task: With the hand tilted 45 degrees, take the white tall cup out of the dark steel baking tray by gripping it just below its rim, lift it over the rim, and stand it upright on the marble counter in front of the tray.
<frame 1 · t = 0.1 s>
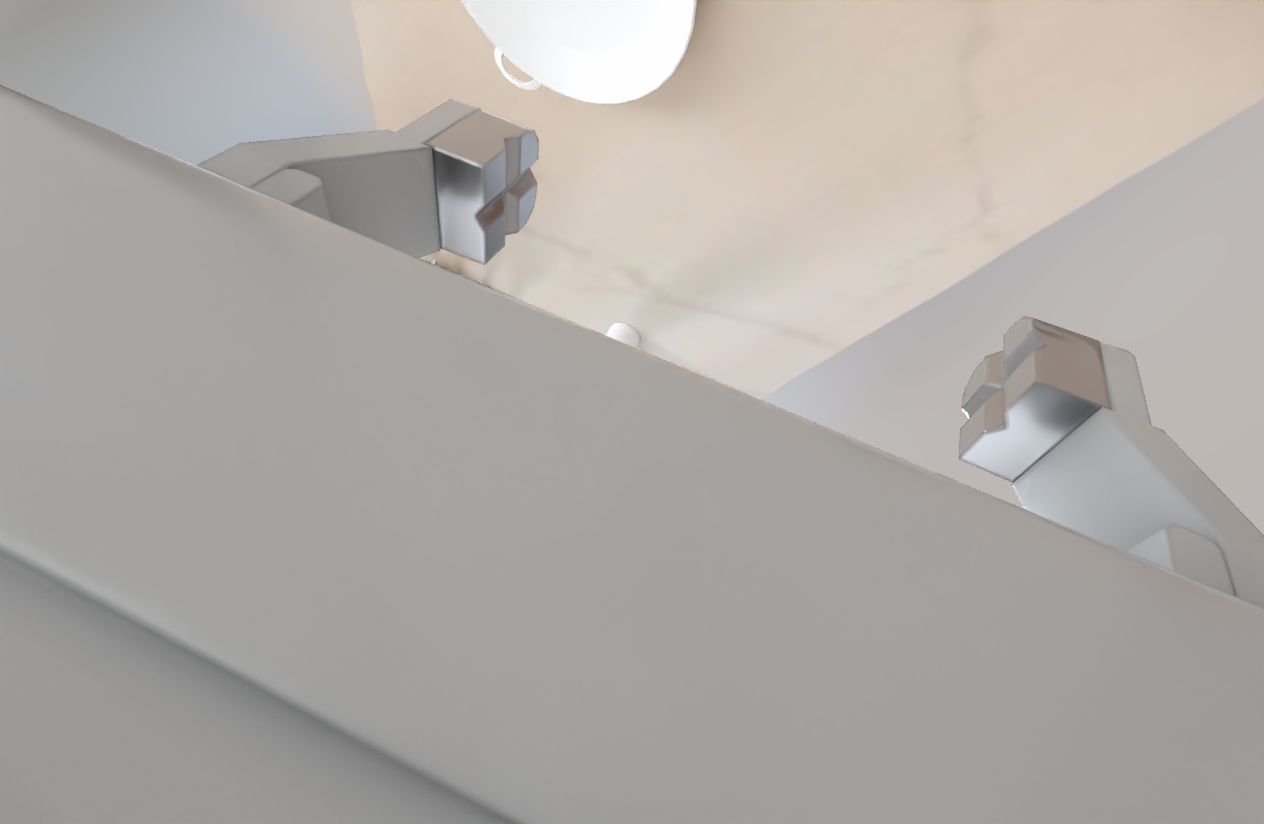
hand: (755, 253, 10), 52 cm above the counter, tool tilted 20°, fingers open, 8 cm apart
foam cup: (626, 331, 127), on the counter
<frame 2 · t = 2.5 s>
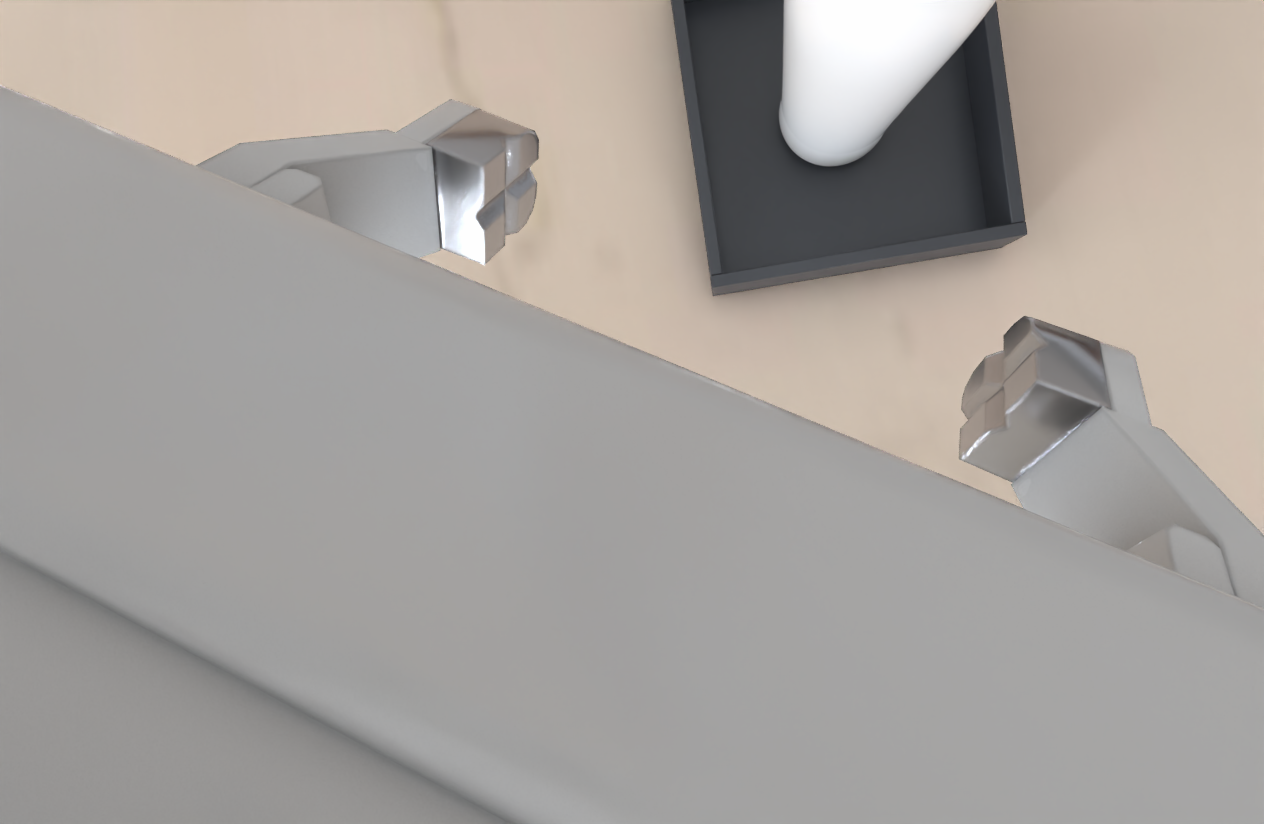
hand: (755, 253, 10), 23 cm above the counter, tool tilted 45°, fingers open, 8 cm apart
white tall cup: (830, 118, 31), resting on baking tray
baking tray: (830, 119, 31), on the counter
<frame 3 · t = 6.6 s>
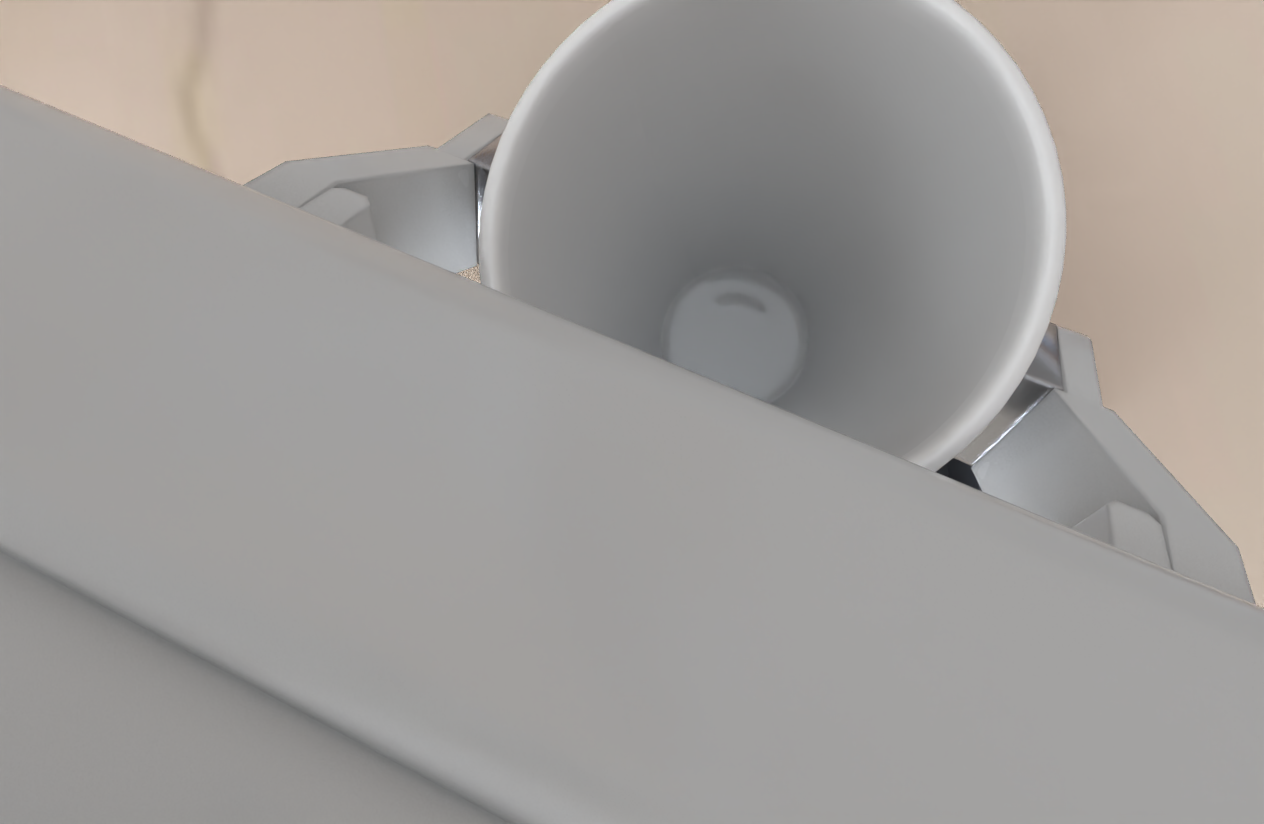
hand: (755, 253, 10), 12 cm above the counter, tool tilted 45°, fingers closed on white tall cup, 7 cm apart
white tall cup: (732, 344, 22), resting on baking tray, touching gripper
baking tray: (732, 344, 22), on the counter
when the fingers open (12 cm above the counter, at t = 15.2 s): white tall cup stays where it is, on the counter.
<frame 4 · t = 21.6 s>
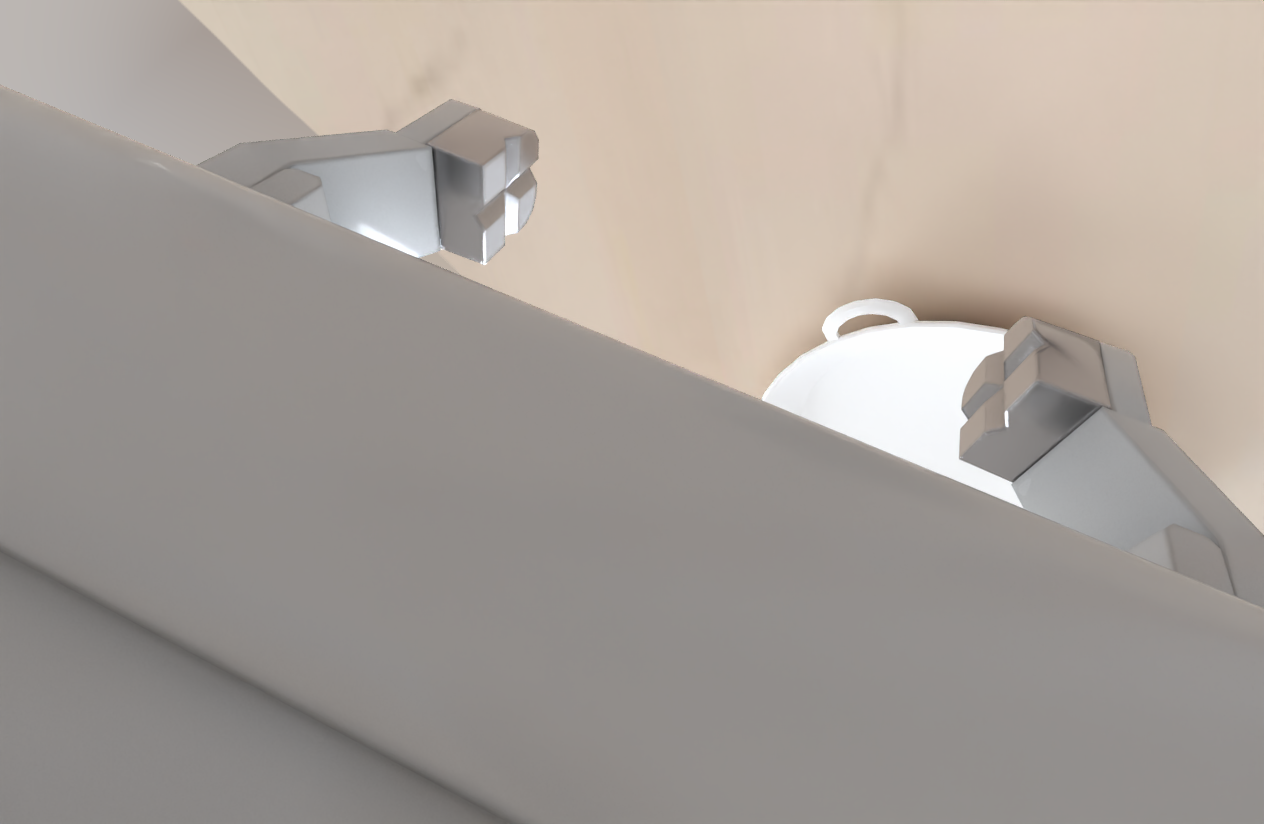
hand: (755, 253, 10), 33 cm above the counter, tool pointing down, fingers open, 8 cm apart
pan: (927, 431, 53), on the counter
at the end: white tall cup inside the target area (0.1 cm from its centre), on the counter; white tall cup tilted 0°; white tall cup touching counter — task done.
